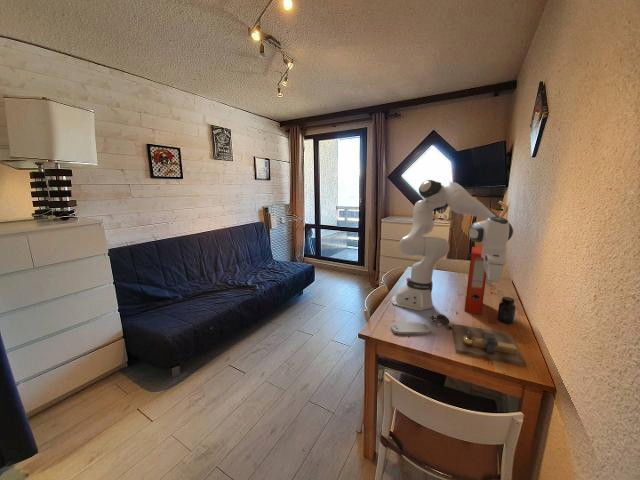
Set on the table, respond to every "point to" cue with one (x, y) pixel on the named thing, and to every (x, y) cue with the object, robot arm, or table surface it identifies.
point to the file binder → (475, 282)
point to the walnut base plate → (461, 348)
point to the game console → (411, 328)
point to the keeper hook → (490, 342)
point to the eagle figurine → (441, 320)
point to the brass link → (480, 343)
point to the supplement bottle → (506, 311)
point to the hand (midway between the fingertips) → (488, 283)
